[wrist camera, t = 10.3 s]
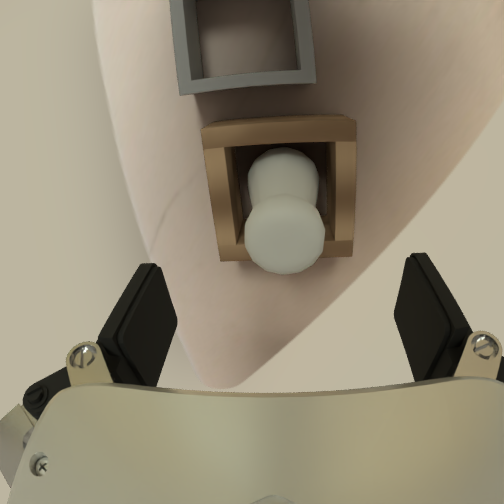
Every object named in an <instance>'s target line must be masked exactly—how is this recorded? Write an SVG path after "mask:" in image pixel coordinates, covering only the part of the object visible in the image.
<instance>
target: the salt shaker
mask: <svg viewBox="0 0 504 504" xmlns="http://www.w3.org/2000/svg"><path fill="white" fill-rule="evenodd" d="M318 190H319V175H318V172H317V169H316V167H315V164H314V162H313V161H312V160H310V159H309V158H308V157H307V156H306V155H305V154H303V153H302V152H301V151H297V150H294V149H291V148H288V147H281V148H275V149H270V150H268V151H267V152H265V153H264V154H262V155H261V156H259V157H258V158H256V159H255V161H254V163H253V165H252V167H251V169H250V171H249V172H248V191H249V196H250V200H251V204H252V211H251V213H250V215H249V217H248V219H247V221H246V223H245V247H246V249H247V251H248V253H249V255H250V257H251V259H252V260H253V262H255V263H256V264H257V265H259V266H260V267H261V268H263V269H264V270H265V271H268V272H272V273H276V274H281V275H285V274H293V273H299V272H301V271H303V270H305V269H306V268H308V267H310V266H311V265H313V264H314V263H315V261H316V260H317V259H318V257H319V256H320V254H321V253H322V252H323V245H324V237H325V228H324V225H323V222H322V220H321V217H320V214H319V212H318V210H317V209H316V208H315V206H316V201H317V196H318Z"/></svg>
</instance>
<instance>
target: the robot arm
mask: <svg viewBox="0 0 504 504" xmlns="http://www.w3.org/2000/svg"><path fill="white" fill-rule="evenodd" d="M394 319H395V322H396V325H397V328H398V330H399V333H400V336H401V339H402V342H403V345H404V348H405V351H406V354H407V358H408V361H409V364H410V367H411V371H412V374H413V377H414V380H415V382H411V383H404V384H396V385H388V386H379V387H371V388H362V389H350V390H336V391H321V392H301V393H300V392H298V393H235V392H233V393H232V392H211V391H195V390H181V389H171V388H159V387H156V386H157V383H158V380H159V377H160V374H161V371H162V368H163V365H164V362H165V359H166V356H167V353H168V350H169V347H170V344H171V341H172V338H173V336H174V333H175V330H176V327H177V316H176V313H175V310H174V307H173V304H172V301H171V298H170V295H169V292H168V288H167V285H166V282H165V279H164V276H163V272H162V269H161V268H160V267H157V265H156V264H155V263H146V264H145V263H144V264H140V266H139V267H138V269H137V270H136V272H135V274H134V275H133V277H132V279H131V280H130V282H129V284H128V285H127V287H126V289H125V290H124V292H123V294H122V296H121V297H120V299H119V300H118V302H117V304H116V306H115V307H114V309H113V311H112V312H111V314H110V316H109V318H108V319H107V321H106V323H105V325H104V327H103V328H102V330H101V332H100V334H99V336H98V340H97V342H96V343H94V342H90V341H88V342H82V343H79V344H78V345H76V346H74V347H73V348H72V349H71V350H70V352H69V353H68V355H67V357H66V367H64V368H62V369H61V370H59V371H57V372H55V373H53V374H51V375H49V376H48V377H46V378H44V379H42V380H40V381H38V382H36V383H34V384H33V385H31V386H30V387H29V388H28V389H27V390H26V392H25V394H24V397H23V405H22V406H20V404H18V405H17V406H15V407H14V408H13V409H12V410H11V411H10V412H9V413H8V414H7V415H6V416H4V417H3V418H2V419H1V420H0V470H1V472H2V474H3V476H4V478H5V479H6V481H7V483H8V485H9V486H10V488H11V491H10V495H9V498H8V502H7V504H504V357H503V356H502V346H501V343H500V342H499V340H498V339H497V338H496V337H495V336H494V335H492V334H490V333H489V332H485V331H476V332H473V331H472V329H471V328H470V326H469V324H468V322H467V320H466V318H465V317H464V315H463V313H462V311H461V309H460V307H459V306H458V304H457V302H456V300H455V299H454V297H453V295H452V294H451V292H450V290H449V288H448V287H447V285H446V284H445V282H444V280H443V279H442V277H441V275H440V274H439V272H438V271H437V269H436V267H435V266H434V264H433V263H432V261H431V260H430V258H429V257H428V255H427V254H426V253H412V254H411V255H410V257H407V258H406V261H405V266H404V271H403V276H402V280H401V285H400V289H399V294H398V297H397V302H396V306H395V310H394Z"/></svg>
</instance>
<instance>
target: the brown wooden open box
mask: <svg viewBox="0 0 504 504" xmlns="http://www.w3.org/2000/svg"><path fill="white" fill-rule="evenodd" d="M201 136H202V144H203V151H204V158H205V165H206V172H207V179H208V186H209V192H210V199H211V206H212V212H213V218H214V225H215V231H216V237H217V243H218V249H219V255H220V261H249V260H252V259H251V257H250V255H249V253H248V251H247V249H246V247H245V223H246V221H247V219H243V214H242V205H241V197H240V188H239V179H238V170H237V161H236V152H235V146H245V145H258V144H274V143H295V142H326V165H327V215H322V216H320V217H321V220H322V222H323V225H324V228H325V237H324V245H323V252H322V253H321V254H320V256H319V257H318V258H326V257H350V256H352V252H353V239H354V222H355V201H356V155H357V147H356V121H355V120H353V119H351V118H349V117H346V116H344V115H289V116H270V117H256V118H244V119H233V120H224V121H215V122H213V123H211V124H209V125H207V126H206V127H204V128H202V129H201Z"/></svg>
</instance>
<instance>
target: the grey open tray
mask: <svg viewBox="0 0 504 504" xmlns="http://www.w3.org/2000/svg"><path fill="white" fill-rule="evenodd" d="M195 1H198V0H170V12H171V23H172V33H173V43H174V52H175V61H176V70H177V78H178V87H179V94H180V96H181V95H190V94H197V93H204V92H211V91H219V90H227V89H236V88H246V87H257V86H271V85H290V84H314V83H317V81H316V68H315V57H314V46H313V36H312V27H311V18H310V10H309V2H308V0H290V3H291V11H292V19H293V28H294V38H295V47H296V58H297V69H298V70H285V71H268V72H255V73H244V74H235V75H226V76H218V77H211V78H203V70H202V61H201V52H200V42H199V33H198V23H197V13H196V3H195Z"/></svg>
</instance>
